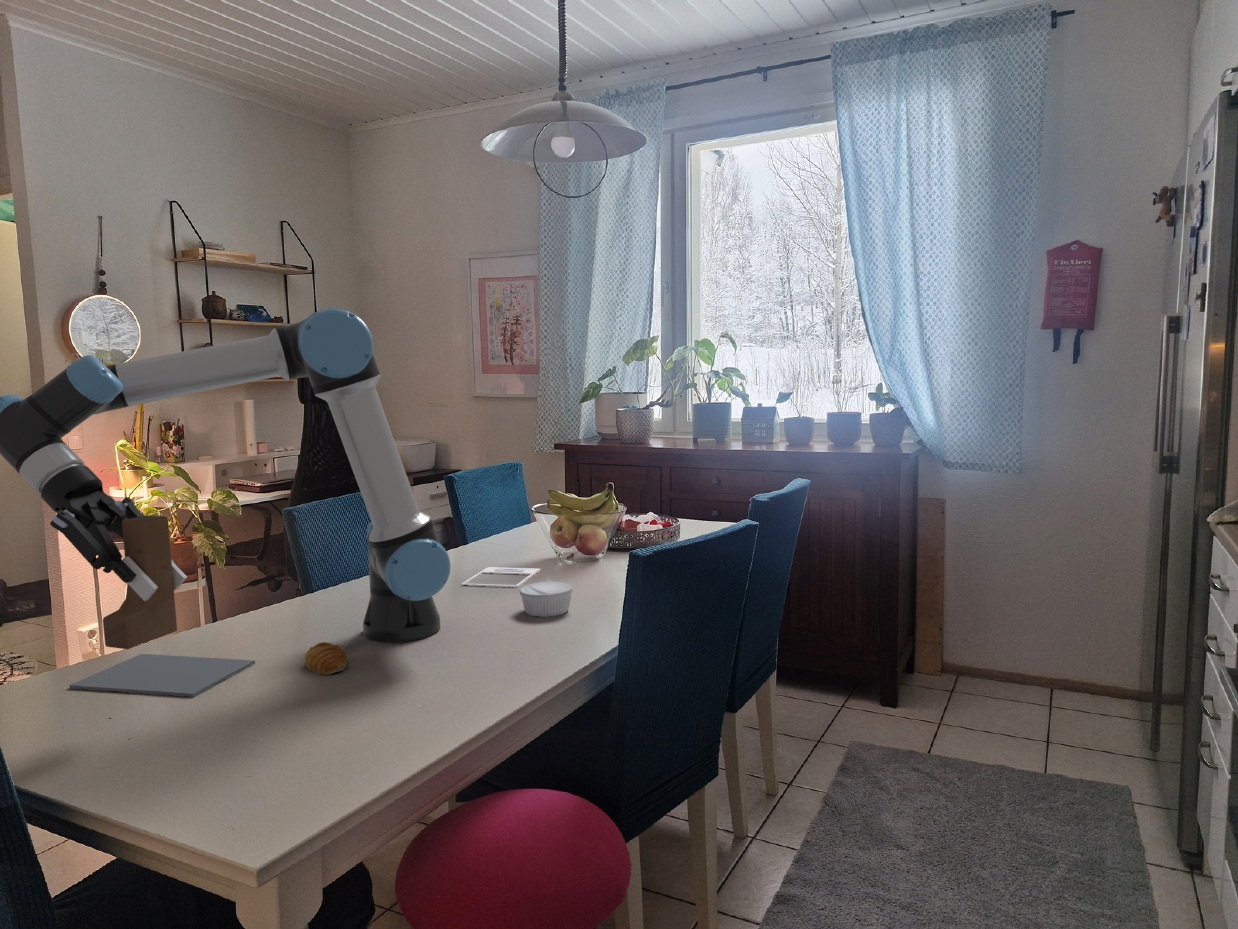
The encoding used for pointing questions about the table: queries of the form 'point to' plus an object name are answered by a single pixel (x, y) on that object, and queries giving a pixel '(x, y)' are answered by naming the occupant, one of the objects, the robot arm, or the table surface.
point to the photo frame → (504, 571)
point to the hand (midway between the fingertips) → (166, 588)
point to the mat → (164, 675)
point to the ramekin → (546, 598)
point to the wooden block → (153, 557)
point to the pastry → (325, 658)
